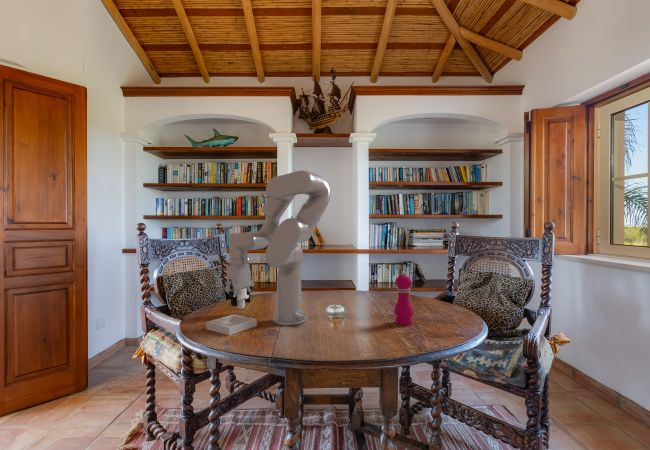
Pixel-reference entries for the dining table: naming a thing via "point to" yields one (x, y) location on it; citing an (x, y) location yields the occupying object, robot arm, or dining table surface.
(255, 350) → the dining table surface
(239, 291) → the pipe fitting
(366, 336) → the dining table surface
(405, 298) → the pepper mill
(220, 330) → the tray
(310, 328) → the dining table surface
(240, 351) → the dining table surface
